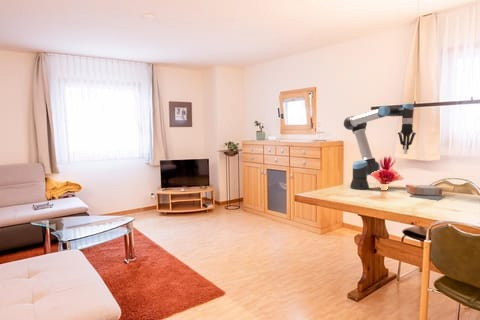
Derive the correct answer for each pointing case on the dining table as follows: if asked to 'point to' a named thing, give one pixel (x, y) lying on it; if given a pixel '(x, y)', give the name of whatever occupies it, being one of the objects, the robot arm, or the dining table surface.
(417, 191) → the cracker box
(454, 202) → the dining table surface
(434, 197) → the felt mat
